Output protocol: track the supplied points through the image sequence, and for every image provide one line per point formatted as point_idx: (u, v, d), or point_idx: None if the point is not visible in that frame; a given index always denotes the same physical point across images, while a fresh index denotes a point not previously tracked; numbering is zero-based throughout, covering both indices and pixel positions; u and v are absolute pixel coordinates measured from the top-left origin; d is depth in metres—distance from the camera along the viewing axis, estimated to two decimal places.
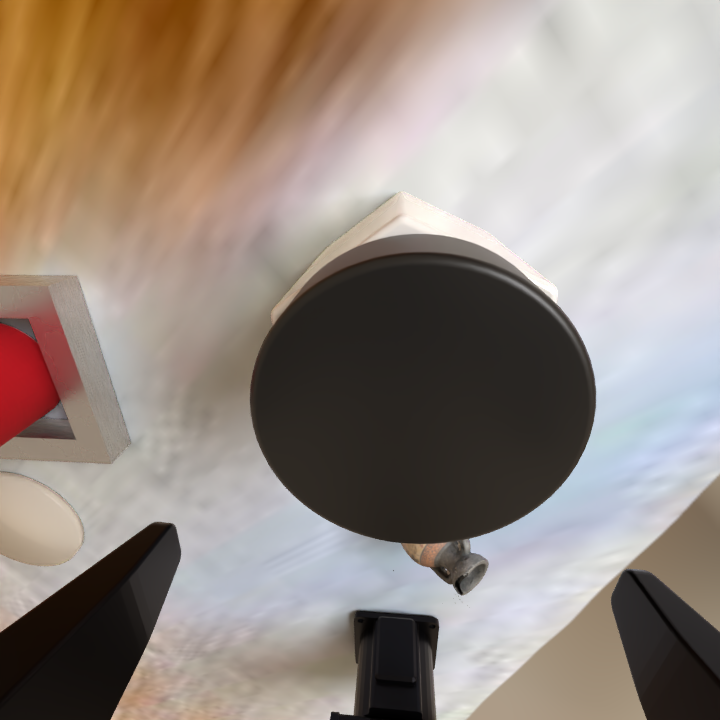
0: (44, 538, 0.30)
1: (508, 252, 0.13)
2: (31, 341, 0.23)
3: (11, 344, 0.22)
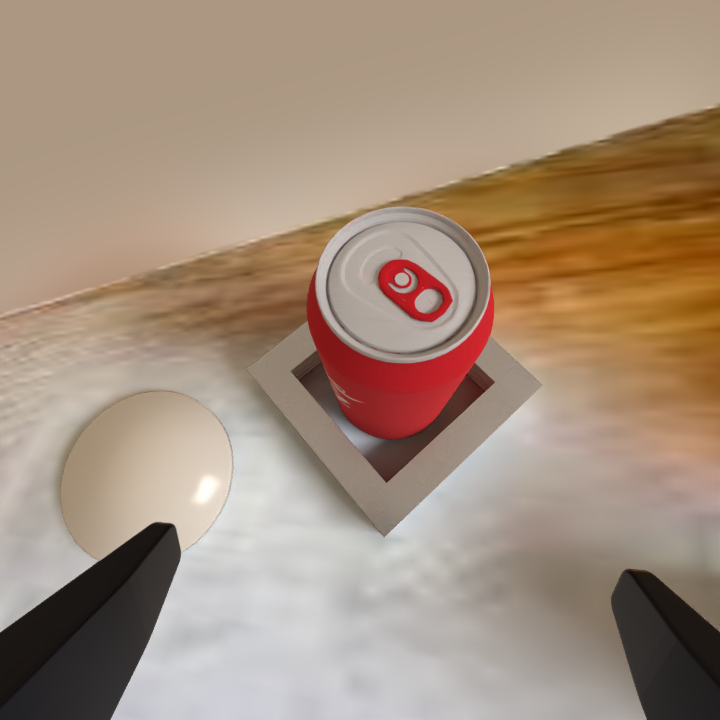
0: (139, 514, 0.21)
1: None
2: None
3: None
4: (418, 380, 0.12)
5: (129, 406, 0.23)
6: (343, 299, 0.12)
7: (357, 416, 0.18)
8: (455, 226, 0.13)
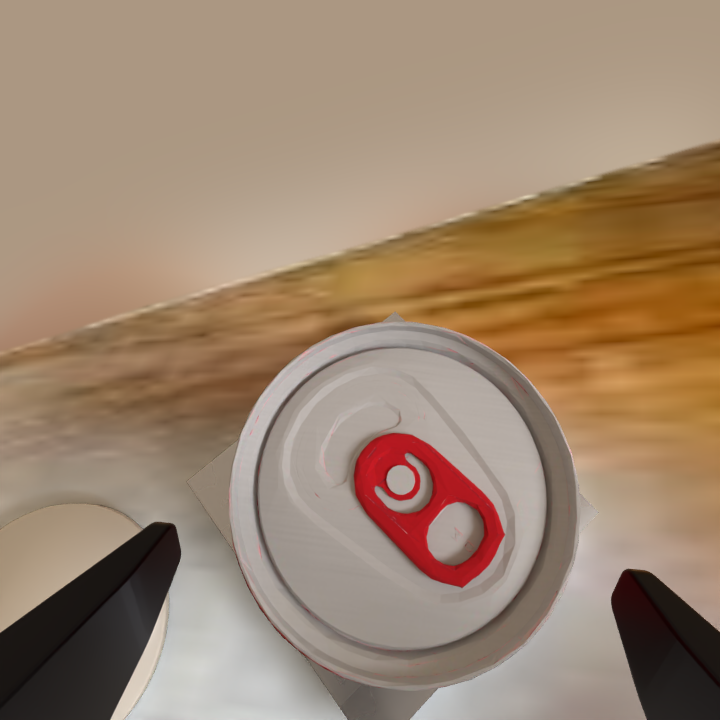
0: None
1: None
2: None
3: None
4: None
5: (30, 525, 0.17)
6: (284, 519, 0.06)
7: None
8: (502, 361, 0.07)
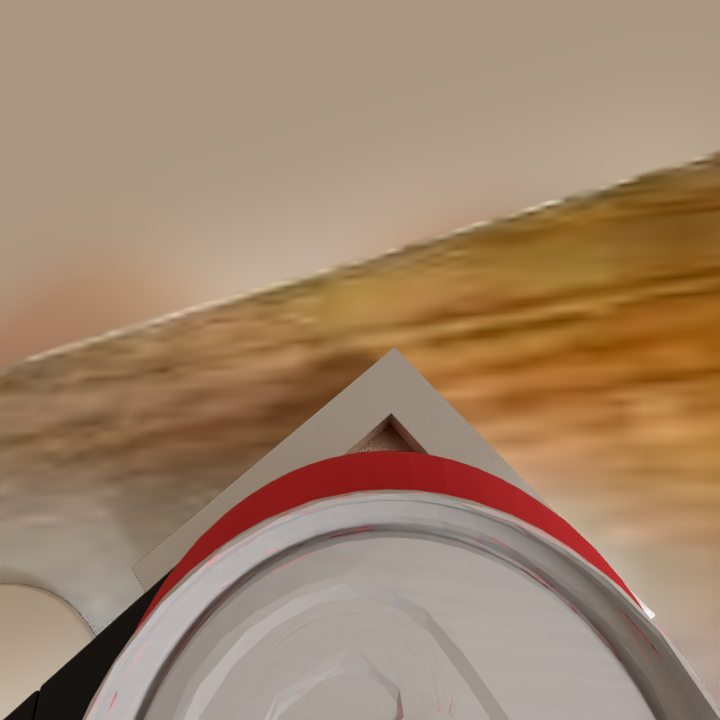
0: None
1: None
2: None
3: None
4: None
5: None
6: None
7: None
8: (603, 576, 0.03)
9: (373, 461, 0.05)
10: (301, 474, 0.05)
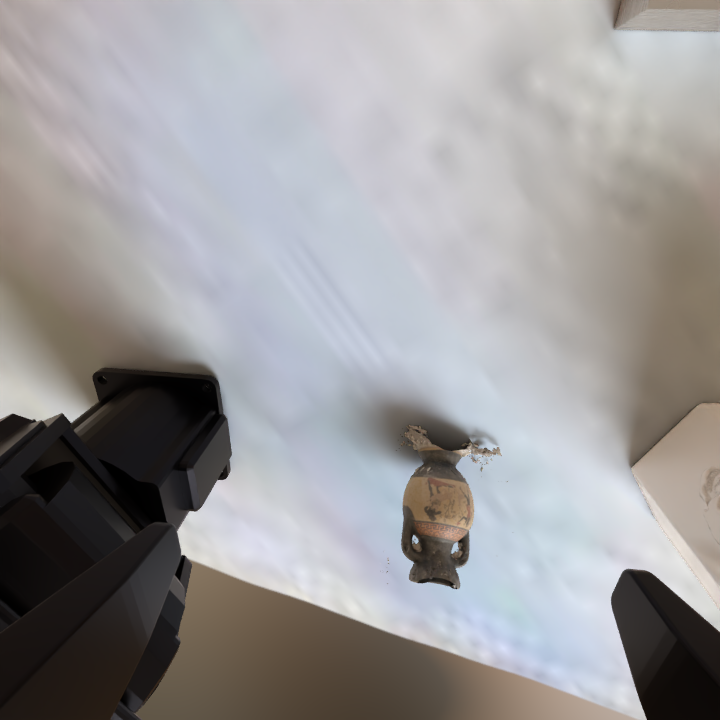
0: None
1: None
2: None
3: None
4: None
5: None
6: None
7: None
8: None
9: None
10: None
